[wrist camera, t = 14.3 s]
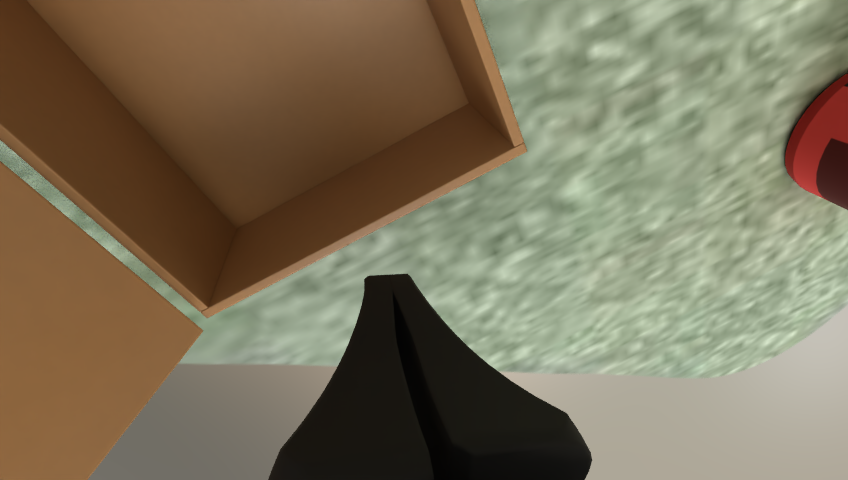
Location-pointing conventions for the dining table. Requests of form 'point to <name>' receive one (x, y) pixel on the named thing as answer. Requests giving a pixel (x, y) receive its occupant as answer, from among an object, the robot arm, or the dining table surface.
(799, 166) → the canned food
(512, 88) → the dining table surface
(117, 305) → the flap
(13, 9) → the carton
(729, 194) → the dining table surface
